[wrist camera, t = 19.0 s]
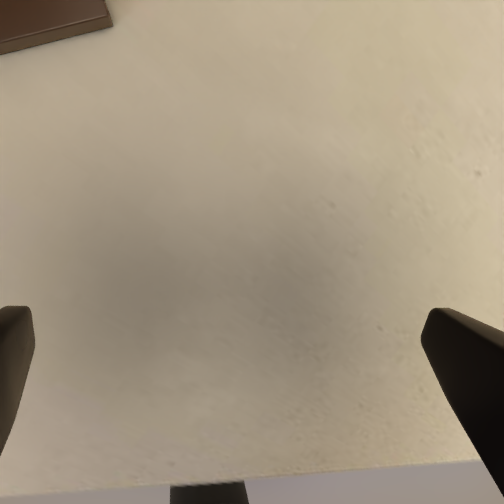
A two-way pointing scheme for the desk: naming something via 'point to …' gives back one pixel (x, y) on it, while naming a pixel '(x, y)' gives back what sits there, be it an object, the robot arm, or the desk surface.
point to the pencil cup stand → (48, 21)
